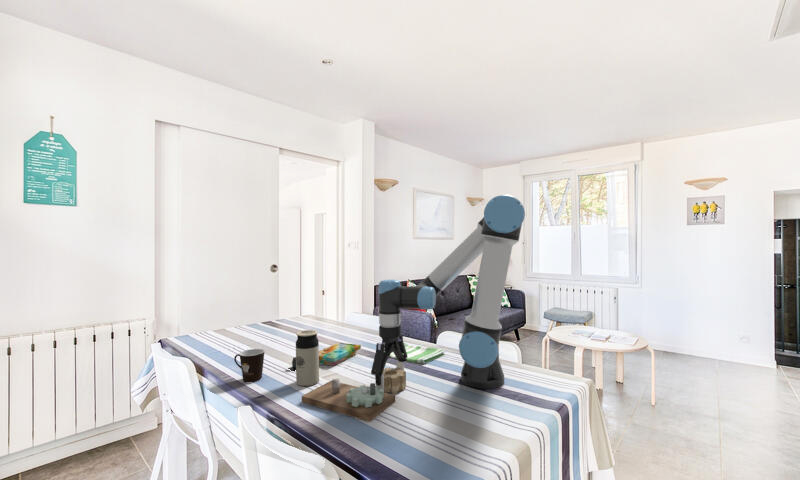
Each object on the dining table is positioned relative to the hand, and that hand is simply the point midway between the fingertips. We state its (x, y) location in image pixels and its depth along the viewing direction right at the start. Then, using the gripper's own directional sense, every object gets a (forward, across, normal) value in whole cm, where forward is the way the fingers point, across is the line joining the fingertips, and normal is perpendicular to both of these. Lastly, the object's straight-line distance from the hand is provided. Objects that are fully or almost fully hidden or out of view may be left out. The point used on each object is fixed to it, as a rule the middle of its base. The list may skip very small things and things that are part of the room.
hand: (390, 386), depth 123 cm
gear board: (0, +16, -6) cm, 17 cm away
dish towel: (+1, -35, -10) cm, 36 cm away
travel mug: (0, +10, -29) cm, 30 cm away
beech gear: (0, 0, 0) cm, 0 cm away
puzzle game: (+1, -16, -37) cm, 40 cm away
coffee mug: (+1, +17, -51) cm, 54 cm away
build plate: (+1, 0, -43) cm, 43 cm away
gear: (-2, +16, +1) cm, 16 cm away
